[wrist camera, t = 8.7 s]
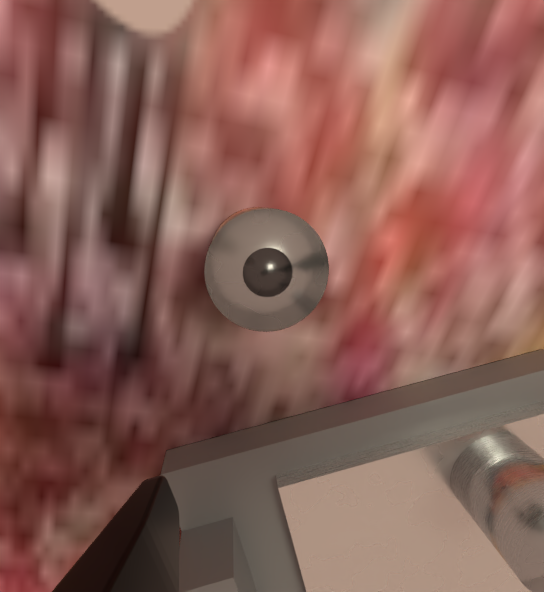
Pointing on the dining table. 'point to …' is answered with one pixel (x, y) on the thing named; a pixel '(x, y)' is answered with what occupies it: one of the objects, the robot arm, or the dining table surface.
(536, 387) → the kitchen scale
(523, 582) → the cylinder
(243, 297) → the steel spacer
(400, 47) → the dining table surface
